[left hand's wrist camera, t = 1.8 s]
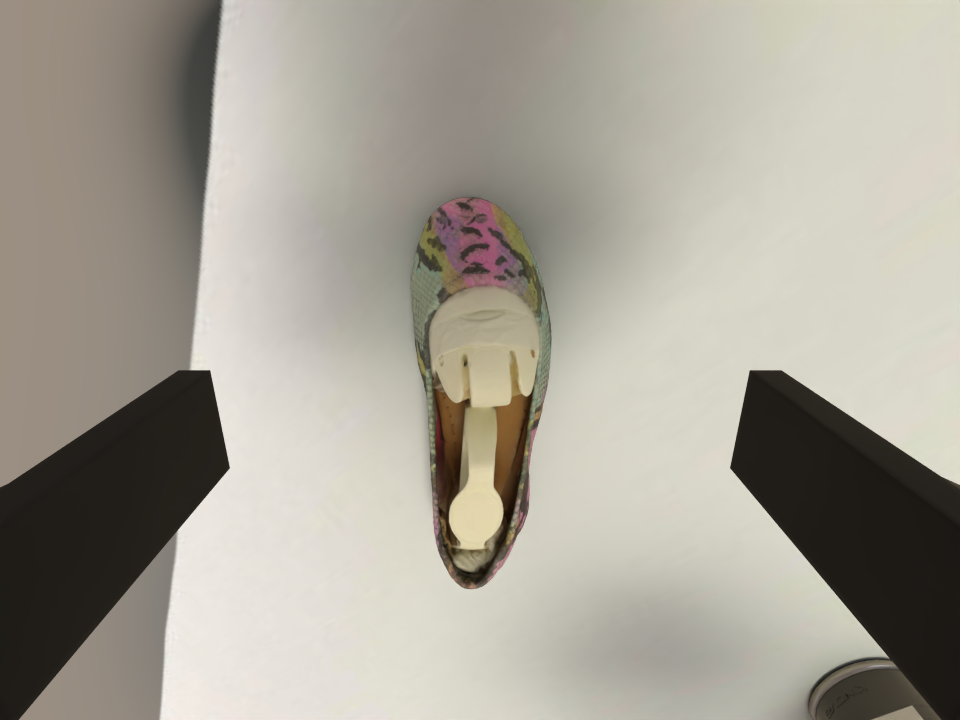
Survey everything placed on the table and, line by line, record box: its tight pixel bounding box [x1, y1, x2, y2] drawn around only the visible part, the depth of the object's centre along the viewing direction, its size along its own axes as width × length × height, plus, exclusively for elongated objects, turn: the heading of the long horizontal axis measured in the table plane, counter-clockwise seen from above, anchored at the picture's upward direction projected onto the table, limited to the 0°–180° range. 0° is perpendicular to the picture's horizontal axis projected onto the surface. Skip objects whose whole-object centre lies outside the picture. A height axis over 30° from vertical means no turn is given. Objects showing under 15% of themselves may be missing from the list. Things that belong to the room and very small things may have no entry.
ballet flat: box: [411, 198, 551, 589], centre depth 30 cm, size 8×24×9 cm, turn 0°
